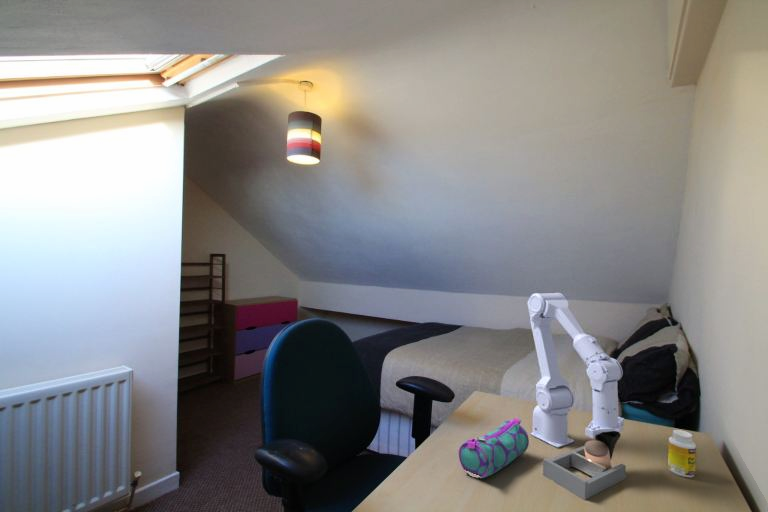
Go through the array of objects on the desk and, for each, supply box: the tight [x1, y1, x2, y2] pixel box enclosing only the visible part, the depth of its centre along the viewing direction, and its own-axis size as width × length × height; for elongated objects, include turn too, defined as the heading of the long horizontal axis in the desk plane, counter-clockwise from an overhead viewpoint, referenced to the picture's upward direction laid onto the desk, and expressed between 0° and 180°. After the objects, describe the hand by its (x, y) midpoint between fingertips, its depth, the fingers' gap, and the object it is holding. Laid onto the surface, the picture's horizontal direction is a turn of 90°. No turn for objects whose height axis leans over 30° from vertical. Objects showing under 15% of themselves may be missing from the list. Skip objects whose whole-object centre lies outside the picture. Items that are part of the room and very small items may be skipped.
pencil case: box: [458, 417, 530, 479], centre depth 100 cm, size 21×9×10 cm, turn 132°
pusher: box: [571, 451, 606, 478], centre depth 96 cm, size 8×1×3 cm, turn 30°
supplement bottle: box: [667, 429, 697, 478], centre depth 98 cm, size 6×6×10 cm
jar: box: [584, 439, 613, 471], centre depth 98 cm, size 6×6×7 cm
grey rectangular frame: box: [542, 445, 627, 501], centre depth 96 cm, size 11×17×4 cm, turn 120°
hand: (606, 458), depth 99 cm, fingers closed, pressing on jar
